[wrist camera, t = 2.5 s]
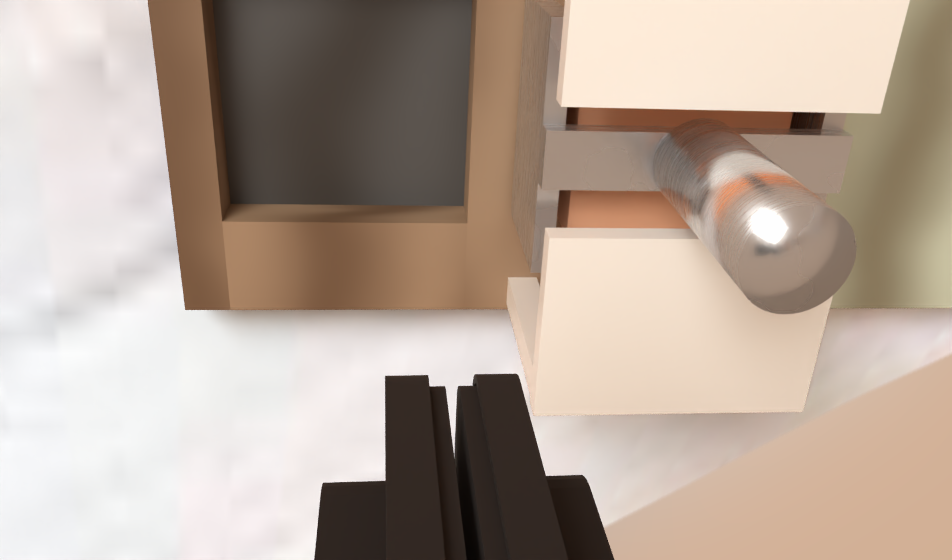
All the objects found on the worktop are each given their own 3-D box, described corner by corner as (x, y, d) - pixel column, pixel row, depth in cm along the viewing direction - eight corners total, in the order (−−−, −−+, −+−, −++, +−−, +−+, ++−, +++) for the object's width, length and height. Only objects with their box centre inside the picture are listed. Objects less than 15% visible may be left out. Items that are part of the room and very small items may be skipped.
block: (750, 23, 26) (806, 49, 23) (719, 191, 29) (766, 238, 25) (558, 17, 26) (585, 42, 22) (544, 188, 28) (566, 237, 24)
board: (1113, -121, 27) (1164, -119, 25) (975, 284, 33) (1008, 307, 32) (146, -171, 24) (126, -173, 22) (197, 283, 31) (185, 309, 29)
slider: (793, 0, 26) (1049, 90, 16) (749, 215, 29) (941, 405, 19) (526, -9, 25) (615, 79, 15) (511, 213, 28) (576, 410, 18)
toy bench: (812, -135, 24) (945, -135, 18) (725, 307, 31) (802, 411, 25) (537, -150, 23) (584, -154, 18) (506, 307, 30) (533, 415, 24)
